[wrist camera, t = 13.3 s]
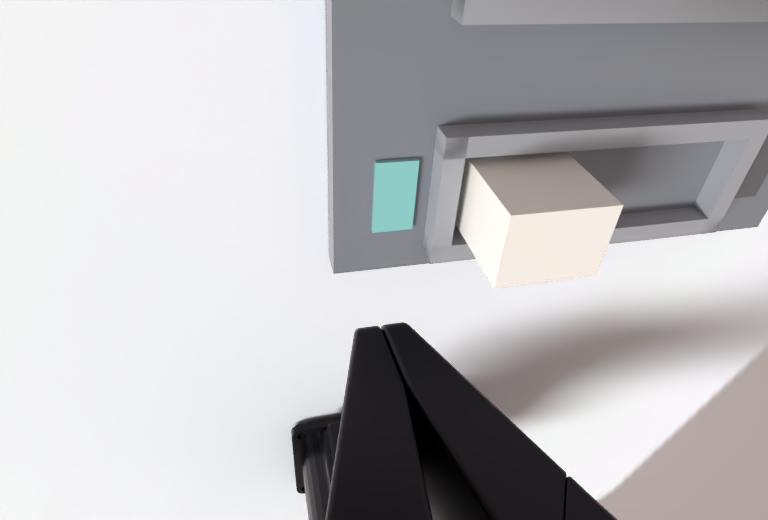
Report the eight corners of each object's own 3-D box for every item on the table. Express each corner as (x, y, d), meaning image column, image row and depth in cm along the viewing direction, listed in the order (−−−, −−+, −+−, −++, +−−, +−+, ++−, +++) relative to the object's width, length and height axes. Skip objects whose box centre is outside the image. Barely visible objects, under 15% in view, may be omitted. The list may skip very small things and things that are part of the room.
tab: (545, 215, 22) (596, 275, 19) (455, 223, 21) (493, 288, 18) (563, 149, 20) (623, 204, 17) (465, 155, 20) (511, 215, 17)
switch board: (739, 213, 27) (773, 238, 25) (329, 255, 23) (337, 289, 21) (969, -202, 17) (1049, -206, 16) (321, -274, 13) (336, -290, 11)
